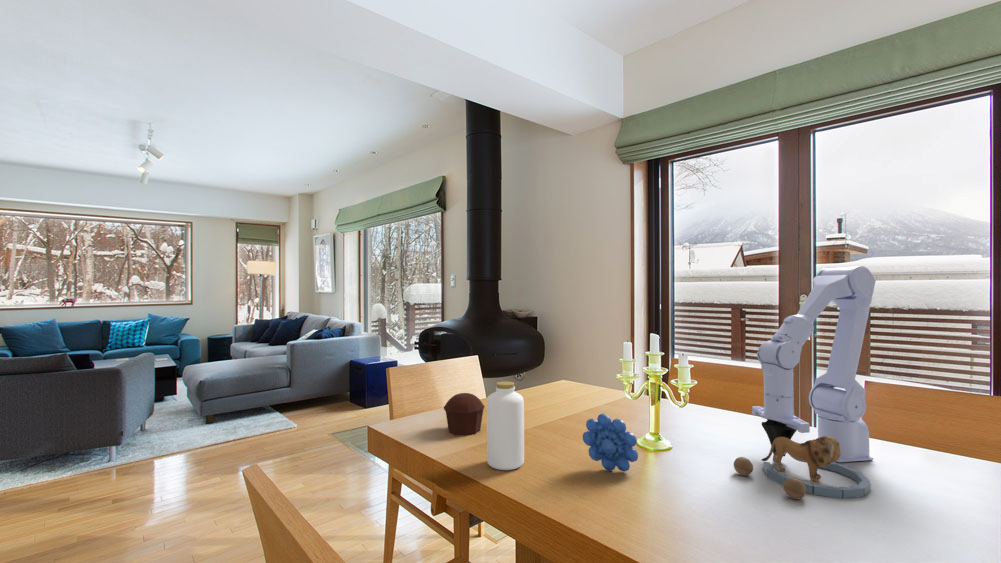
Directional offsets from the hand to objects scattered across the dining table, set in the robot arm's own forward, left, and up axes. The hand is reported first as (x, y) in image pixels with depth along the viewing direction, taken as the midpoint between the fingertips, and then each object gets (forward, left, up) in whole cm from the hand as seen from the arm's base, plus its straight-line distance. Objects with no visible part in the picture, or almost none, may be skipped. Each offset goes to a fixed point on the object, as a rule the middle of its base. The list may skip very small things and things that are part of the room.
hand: (779, 455), depth 101 cm
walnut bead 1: (+13, +5, -1) cm, 14 cm away
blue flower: (+40, -1, -2) cm, 40 cm away
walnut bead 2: (+11, +16, -1) cm, 19 cm away
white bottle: (+61, -9, -2) cm, 62 cm away
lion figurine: (0, +7, -2) cm, 7 cm away
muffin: (+68, -35, -2) cm, 76 cm away
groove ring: (0, +10, -1) cm, 10 cm away
